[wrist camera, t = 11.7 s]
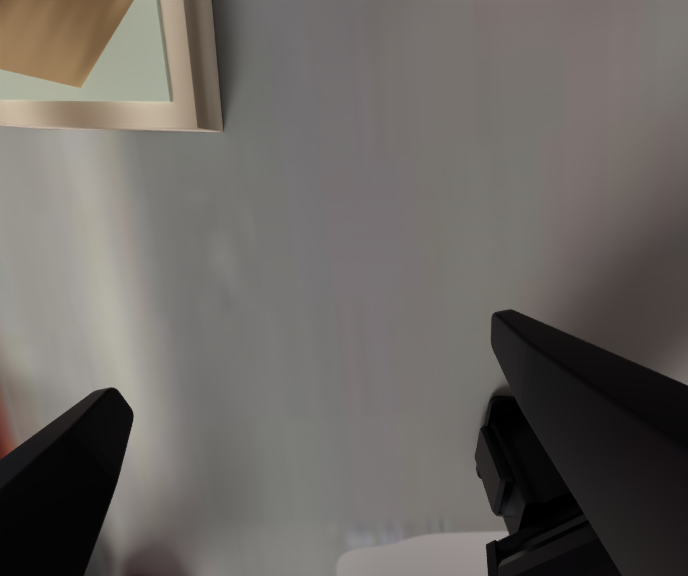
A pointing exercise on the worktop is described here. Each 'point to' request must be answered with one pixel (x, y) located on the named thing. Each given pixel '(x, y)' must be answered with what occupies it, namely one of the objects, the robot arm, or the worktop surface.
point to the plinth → (132, 78)
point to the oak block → (57, 36)
